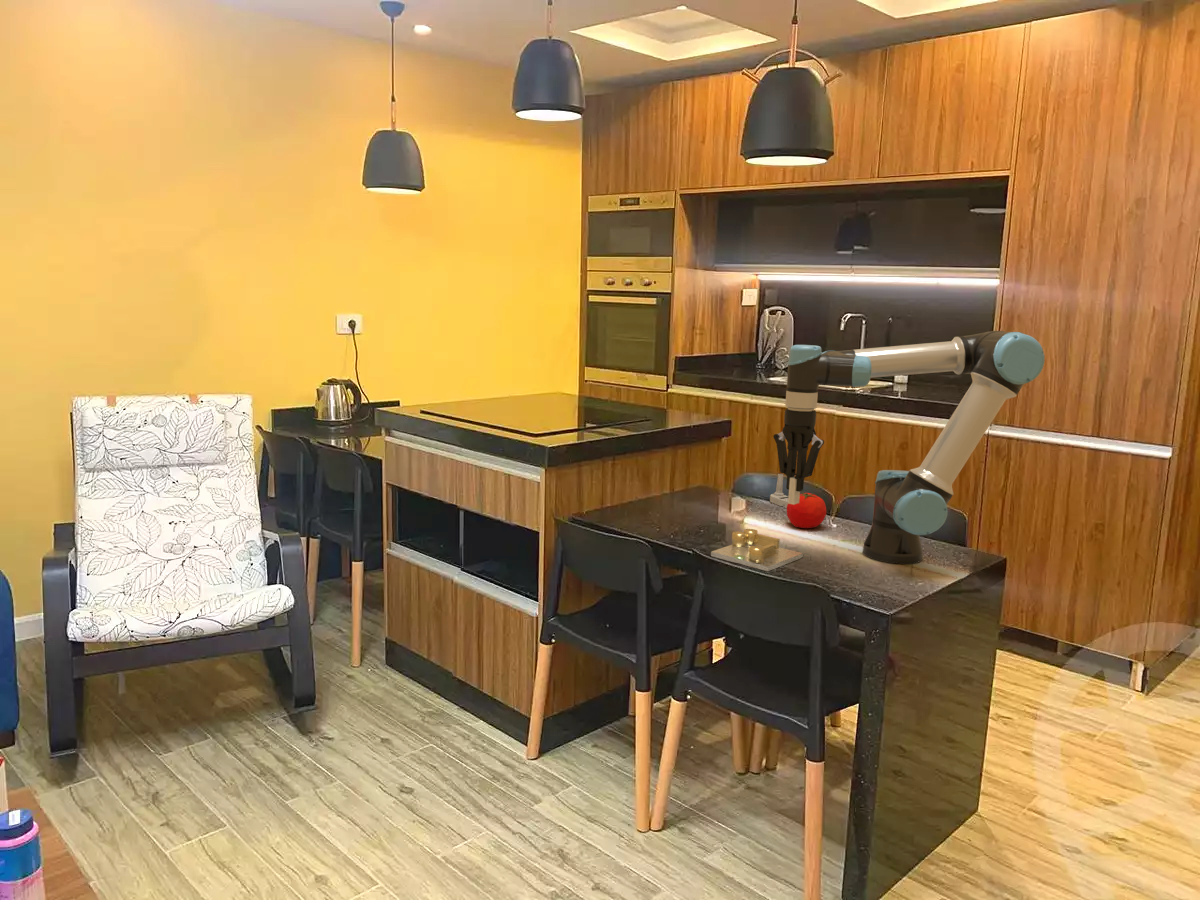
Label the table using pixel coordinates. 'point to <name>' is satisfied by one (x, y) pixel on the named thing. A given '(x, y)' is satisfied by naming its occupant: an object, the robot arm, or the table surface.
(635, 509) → the table surface
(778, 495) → the grey post stand
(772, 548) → the gold piece
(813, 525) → the tomato
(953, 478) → the robot arm
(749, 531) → the gold block
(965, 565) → the table surface
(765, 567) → the plate
